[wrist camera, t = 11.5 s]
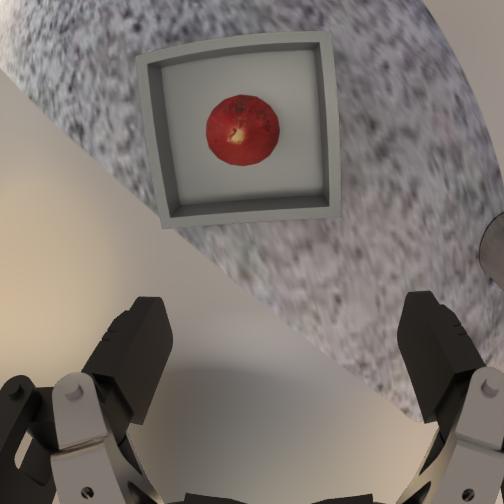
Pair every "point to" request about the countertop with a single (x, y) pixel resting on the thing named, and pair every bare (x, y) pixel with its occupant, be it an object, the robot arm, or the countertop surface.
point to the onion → (242, 130)
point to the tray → (228, 85)
